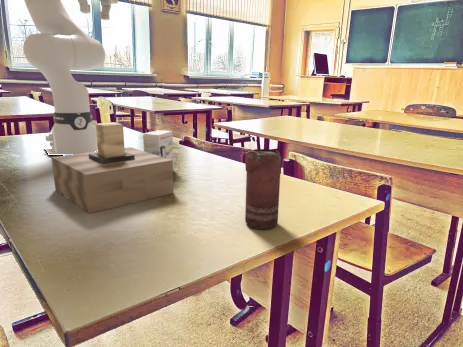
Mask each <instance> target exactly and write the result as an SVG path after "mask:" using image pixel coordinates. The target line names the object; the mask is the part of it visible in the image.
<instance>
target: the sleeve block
mask: <svg viewBox="0 0 463 347" xmlns="http://www.w3.org/2000/svg"><path fill="white" fill-rule="evenodd" d="M124 149H125V155H123V156H116V157H109V158H104V157H102V156H99V155H98V151H96V152H89V153H81V154H73V155H65V156H51V164H52V171H53V172H52V173H53V179H54V180H53V181H54V189H56V190H57V191H56V190H55V191H56V192H58V191H59V192H60V193H62V194H63V195H65V196H66V197H68V198H69V199H70V200H69V199H68V198H67V199H68V200H69V201H71V200H72V201H73V202H72V201H71V202H72V203H73V204H75V203H76V204H77V205H76V204H75V205H76V206H78V207H79V208H81V209H82V210H84V211H85V212H86V213H88V214H93V213H97V212H101V211H105V210H109V209H110V210H111V209H113V208H114V209H115V208H117V207H118V208H119V207H123V206H126V205H130V203H131V204H134V203H139V202H143V201H146V200H150V199H154V198H160V197H163V196H168V195H172V194H174V171H173V160H171V159H167V158H164V157H161V156H158V155H154V154H151V153H148V152H145V151H144V150H142V149H138V148H135V147H131V146H129V147H124ZM59 192H58V193H59ZM60 193H59V194H60ZM62 194H61V195H62ZM63 195H62V196H63ZM65 196H64V197H65ZM66 197H65V198H66Z"/></svg>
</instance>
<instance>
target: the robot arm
mask: <svg viewBox="0 0 463 347" xmlns="http://www.w3.org/2000/svg"><path fill="white" fill-rule="evenodd" d="M98 1H99V2H100V5H101V11H99V15H100V16H99V17H100V19H101V20H103V21H109V20H110V11H111V8H112V5H115V4H118V2H119V0H98ZM77 2H78V4H79V12H81V13H83V14H90V13H92V12H91V5H90V4H89V3H88V0H77ZM24 4H25V6H26V8H27V10H28V13H29V15H30V18H31V19H32V22H33V24H34V27H35V28H36V30H37V31H38V33H31V34H29V35H27V37H26V38H25V39H24V42H23V46H22V48H23V49H22V50H23V54H24V55H23V56H24V57H25V58H26V60H27V62H28V63H29V64H30V65H31V66H32V67H34V68H35V69H36V70H38V71H39V72H40V73H41V74H42V75H43V76H44V78H45V79H46V81H47V83H48V85H49V86H50V89H51V94H52V95H51V96H52V99H53V108H54V112H53V117H52V118H53V123H54V124H53V126H52V127H51V130H50V132H49V133H48V134H45V141H46V142H49V145H50V146H51V147H52V149H46V151H47V152H48V153H49V154H81V153H89V152H95V151H97V150H98V146H97V134H96V125H94V124H93V115H92V111H91V108H90V96H89V90H88V88H87V87H86V86H85V84H83V83H82V82H80V81H77V80H76V79H75V78H74V77H73V75H72V72H71V71H91V70H96V69H100V68H101V67H102V66H103V65H104V63H105V60H106V51H105V48H104V46H103V44H102V43H101V41H99V40H98V39H96V38H93V37H92V36H90V35H89V34H87V33H86V32H85V31H84V30H82V28H80V27H79V26H78V25H77V24H76V23H75V22H74V21H73V19H71V17H70V15H69V13H68V12H67V11H66V8H65V7H64V6H65V5H64V4H63V3H62V0H24ZM46 151H45V152H46Z"/></svg>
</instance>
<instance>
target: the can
mask: <svg viewBox="0 0 463 347" xmlns="http://www.w3.org/2000/svg"><path fill="white" fill-rule="evenodd" d="M244 165H245V171H246V176H245V177H246V179H245V183H246V184H245V185H246V186H245V214H244V218H245V219H244V220H245V223H246V226H248V227H249V228H250V229H255V230H261V231H267V230H271V229H273V228H275V227H276V226H277V225H278V221H279V207H280V187H281V186H280V185H281V170H282V168H281V167H282V156H281V154H280V151H277V150H276V149H269V148H268V149H267V148H258V149H257V148H255V149H251V150H248V151H247V152H246V153H245V161H244Z"/></svg>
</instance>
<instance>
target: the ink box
mask: <svg viewBox="0 0 463 347" xmlns="http://www.w3.org/2000/svg"><path fill="white" fill-rule="evenodd" d="M173 135H174V134H173V130H163V129H162V130H161V129H157V130H154V131H149V132H144V133H142V139H143V141H142V143H143V151H145V152H148V153H151V154H154V155H158V156H161V157H164V158H167V159H171V160H173V172H174V171H175V161H174V159H175V158H174V141H173V140H174V136H173Z"/></svg>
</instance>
